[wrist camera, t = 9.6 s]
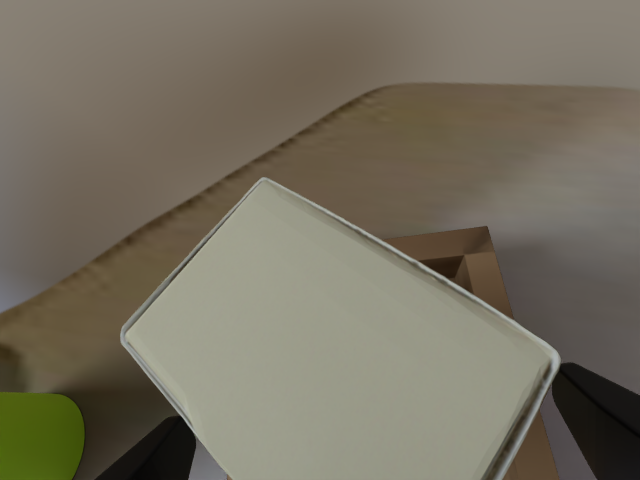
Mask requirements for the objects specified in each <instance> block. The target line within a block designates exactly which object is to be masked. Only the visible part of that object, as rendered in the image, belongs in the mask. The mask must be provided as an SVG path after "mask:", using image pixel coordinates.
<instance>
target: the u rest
mask: <svg viewBox="0 0 640 480" xmlns="http://www.w3.org/2000/svg"><path fill="white" fill-rule="evenodd" d="M382 241H384V242H386V243H387V244H389V245H391V246H393V247H395V248H397V249H398V250H400V251H401V252H403V253H405V254H406V255H408V256H410V257H412V258H414V259H415V260H417V261H419V262H420V263H422V264H424V265H426V266H427V267H429V268H431V269H432V270H434V271H436V272H438V273H439V274H441V275H443V276H445V277H446V278H447V279H449V280H451V281H452V282H454V283H456V284H457V285H459V286H461V287H462V288H464V289H465V290H467V291H468V292H470V293H472V294H473V295H475V296H477V297H478V298H480V299H482V300H483V301H485V302H486V303H488V304H489V305H491V306H492V307H494V308H495V309H497V310H498V311H500V312H501V313H503V314H505V315H506V316H508V317H509V318H511V319H513V320H514V318H513V314H512V311H511V307H510V304H509V300H508V297H507V293H506V290H505V286H504V283H503V279H502V276H501V272H500V269H499V265H498V262H497V258H496V255H495V251H494V248H493V244H492V241H491V237H490V234H489V230H488V227H487V226H484V227H476V228H468V229H461V230H453V231H445V232H438V233H430V234H422V235H415V236H407V237H399V238H392V239H384V240H382ZM227 480H233V479H232V478H231V477H230V476H229V475H228V474H227ZM502 480H559V476H558V473H557V469H556V466H555V462H554V458H553V455H552V451H551V448H550V444H549V441H548V437H547V434H546V430H545V427H544V423H543V420H542V416H541V413H540V409H539V411H538V414H537V416H536V418H535V420H534V422H533V424H532V426H531V427H530V429H529V431H528V433H527V435H526V437H525V439H524V441H523V442H522V444H521V446H520V448H519V450H518V452H517V454H516V455H515V457H514V459H513V461H512V463H511V465H510V467H509V468H508V470H507V472H506V474H505V476H504V478H503V479H502Z"/></svg>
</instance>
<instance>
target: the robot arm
mask: <svg viewBox="0 0 640 480" xmlns="http://www.w3.org/2000/svg"><path fill="white" fill-rule="evenodd" d="M552 395H553V399H554V402H555V404H556V406H557V408H558V410H559V412H560V413H561V415H562V417H563V419H564V421H565V423H566V424H567V426H568V428H569V430H570V432H571V433H572V435H573V437H574V439H575V441H576V443H577V444H578V446H579V448H580V450H581V452H582V454H583V455H584V457H585V459H586V461H587V463H588V465H589V466H590V468H591V470H592V472H593V473H594V475H595V477H596V478H597V480H640V395H638V394H636V393H634V392H632V391H630V390H628V389H626V388H624V387H622V386H620V385H618V384H616V383H614V382H612V381H610V380H608V379H606V378H604V377H602V376H600V375H598V374H596V373H594V372H591V371H589V370H587V369H585V368H583V367H581V366H579V365H577V364H575V363H562V364H561V365H560V368H559V371H558V373H557V374H556V376H555V378H554V380H553V382H552ZM195 449H196V439H195V436H194V434H193V431H192V430H191V428H190V427H189V426H188V424H187V423H186V422H185V420H184V419H183V418H182V416H181V415H179V416H171V417H168V418H167V419H165V420H164V421H163V422H162V423H161V424H159V425H158V426H157V427H156V428H155V429H154V430H152V431H151V432H150V433H149V434H148V435H146V436H145V437H144V438H143V439H142V440H141V441H139V442H138V443H137V444H136V445H135V446H133V447H132V448H131V449H130V450H129V451H128V452H126V453H125V454H124V455H123V456H122V457H121V458H119V459H118V460H117V461H116V462H115V463H113V464H112V465H111V466H110V467H109V468H108V469H106V470H105V471H104V472H103V473H102V474H101V475H99V476H98V477H97V478H96V479H95V480H188V478H189V474H190V470H191V466H192V462H193V458H194V454H195Z"/></svg>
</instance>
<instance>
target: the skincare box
mask: <svg viewBox="0 0 640 480" xmlns="http://www.w3.org/2000/svg"><path fill="white" fill-rule="evenodd" d="M120 337H121V343H122V345H123V346H124V347H125V348H126V349H127V351H128V352H129V353H130V354H131V356H132V357H133V358H134V359H135V361H136V362H137V363H138V364H139V366H140V367H141V368H142V369H143V371H144V372H145V373H146V374H147V376H148V377H149V378H150V379H151V380H152V382H153V383H154V384H155V385H156V386H157V388H158V389H159V390H160V391H161V393H162V394H163V395H164V396H165V397H166V399H167V400H168V401H169V402H170V403H171V405H172V406H173V407H174V408H175V410H176V411H177V412H178V413H179V414H180V415H181V416H182V418H183V419H184V420H185V422H186V423H187V424H188V426H189V427H190V428H191V430H192V431H193V432H194V434H195V435H196V436H197V437H198V439H199V440H200V441H201V443H202V444H203V445H204V446H205V448H206V449H207V450H208V452H209V453H210V454H211V455H212V457H213V458H214V459H215V460H216V462H217V463H218V464H219V465H220V467H221V468H222V469H223V470H224V471H225V472H226V473H227V474H228V475H229V476H230V477H231V478H232V479H233V480H502V479H503V478H504V476H505V474H506V472H507V470H508V468H509V467H510V465H511V463H512V461H513V459H514V457H515V455H516V454H517V452H518V450H519V448H520V446H521V444H522V442H523V441H524V439H525V437H526V435H527V433H528V431H529V429H530V427H531V426H532V424H533V422H534V420H535V418H536V416H537V414H538V411H539V409H540V407H541V405H542V402H543V400H544V398H545V396H546V394H547V392H548V390H549V388H550V386H551V384H552V382H553V380H554V378H555V376H556V374H557V373H558V371H559V368H560V365H561V357H560V355H559V353H558V351H557V350H556V349H555V348H554V347H552V346H551V345H550V344H549V343H547V342H546V341H544V340H543V339H541V338H540V337H538V336H536V335H535V334H533V333H532V332H530V331H529V330H527V329H526V328H524V327H523V326H522V325H520V324H519V323H517V322H516V321H514V320H513V319H511V318H509V317H508V316H506V315H505V314H503V313H501V312H500V311H498V310H497V309H495V308H494V307H492V306H491V305H489V304H488V303H486V302H485V301H483V300H482V299H480V298H478V297H477V296H475V295H473V294H472V293H470V292H468V291H467V290H465V289H464V288H462V287H461V286H459V285H457V284H456V283H454V282H452V281H451V280H449V279H447V278H446V277H445V276H443V275H441V274H439V273H438V272H436V271H434V270H432V269H431V268H429V267H427V266H426V265H424V264H422V263H420V262H419V261H417V260H415V259H414V258H412V257H410V256H408V255H406V254H405V253H403V252H401V251H400V250H398V249H397V248H395V247H393V246H391V245H389V244H387V243H386V242H384V241H382V240H381V239H379V238H377V237H375V236H374V235H372V234H370V233H368V232H367V231H365V230H363V229H361V228H360V227H358V226H356V225H354V224H353V223H351V222H349V221H347V220H345V219H344V218H342V217H340V216H338V215H336V214H334V213H333V212H331V211H329V210H327V209H326V208H324V207H322V206H320V205H318V204H316V203H314V202H312V201H310V200H308V199H306V198H305V197H303V196H302V195H300V194H298V193H296V192H294V191H292V190H290V189H288V188H286V187H284V186H282V185H280V184H279V183H277V182H275V181H273V180H271V179H269V178H266V177H263V178H261V179H260V180H258V181H257V182H256V183H255V184H254V185H253V187H252V188H251V189H250V190H249V191H248V192H247V193H246V194H245V196H244V197H243V198H242V199H241V200H240V201H239V202H238V203H237V204H236V205H235V206H234V207H233V208H232V209H231V210H230V211H229V212H228V213H227V214H226V215H225V216H224V217H223V219H222V220H221V221H220V222H219V223H218V224H217V225H216V226H215V227H214V228H213V229H212V230H211V231H210V232H209V233H208V234H207V235H206V236H205V237H204V238H203V239H202V240H201V242H200V243H199V244H198V245H197V246H196V247H195V248H194V249H193V250H192V252H191V253H190V254H189V255H188V256H187V257H186V258H185V259H184V260H183V262H182V263H181V264H180V265H179V266H178V267H177V268H176V269H175V270H174V271H173V272H172V273H171V274H170V275H169V276H168V277H167V278H166V279H165V280H164V281H163V282H162V284H161V285H160V286H159V287H158V288H157V289H156V290H155V291H154V292H153V294H152V295H151V296H150V297H149V298H148V299H147V300H146V301H145V302H144V303H143V304H142V306H141V307H140V308H139V309H138V310H137V311H136V312H135V313H134V314H133V315H132V316H131V317H130V319H129V320H128V321H127V322H126V323H125V324H124V325H123V327H122V330H121V334H120Z"/></svg>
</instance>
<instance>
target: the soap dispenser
mask: <svg viewBox="0 0 640 480" xmlns="http://www.w3.org/2000/svg"><path fill="white" fill-rule="evenodd" d="M84 439H85V429H84V422H83V418H82V414H81V412H80V410H79V408H78V407H77V405H76V404H75V403H74V402H73V401H72V400H71V399H70V398H68V397H66V396H64V395H61V394H48V393H9V392H0V480H72V479H73V477H74V475H75V473H76V470H77V468H78V466H79V463H80V460H81V456H82V452H83V447H84Z"/></svg>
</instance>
